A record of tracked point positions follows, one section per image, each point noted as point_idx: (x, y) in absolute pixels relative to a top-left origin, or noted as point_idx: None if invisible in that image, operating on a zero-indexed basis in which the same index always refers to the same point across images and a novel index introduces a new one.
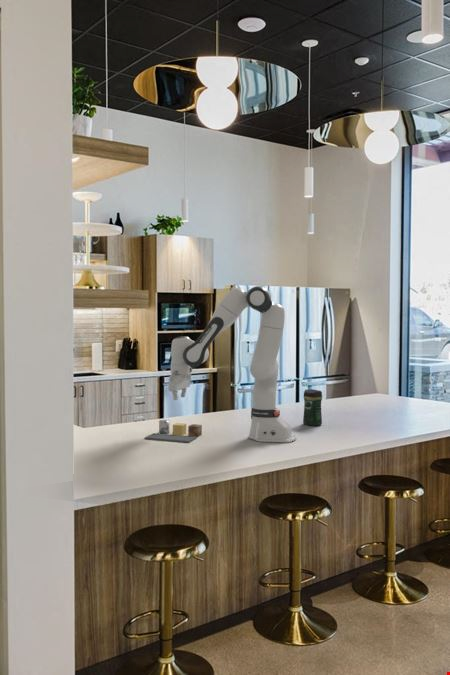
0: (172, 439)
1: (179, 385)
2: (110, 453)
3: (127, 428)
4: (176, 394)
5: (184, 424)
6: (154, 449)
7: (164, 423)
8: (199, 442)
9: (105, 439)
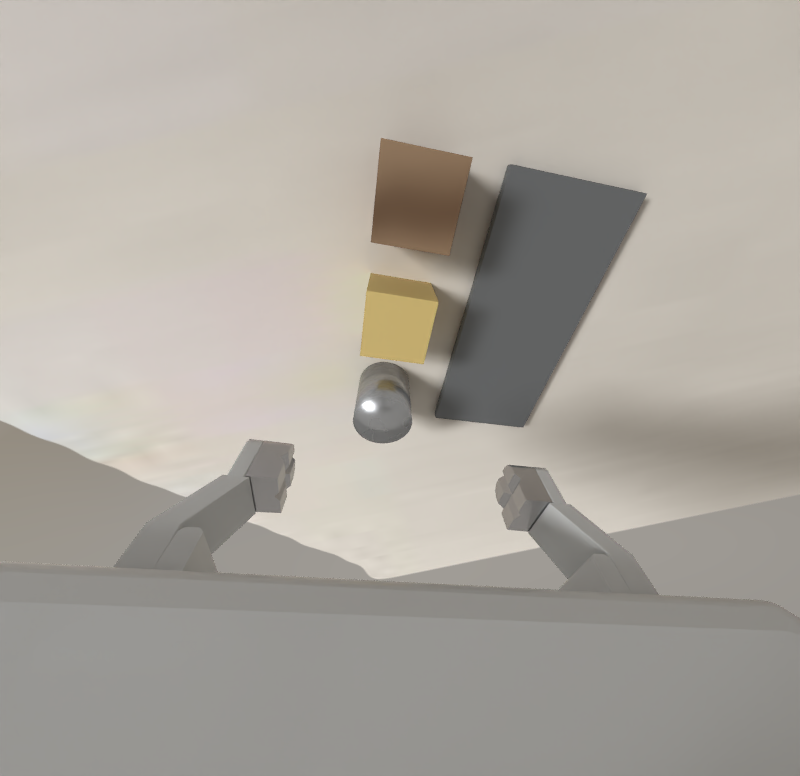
0: (579, 307)
1: (703, 741)
2: (737, 457)
3: (338, 505)
4: (606, 535)
5: (397, 296)
6: (738, 342)
7: (410, 409)
8: (639, 107)
9: None
